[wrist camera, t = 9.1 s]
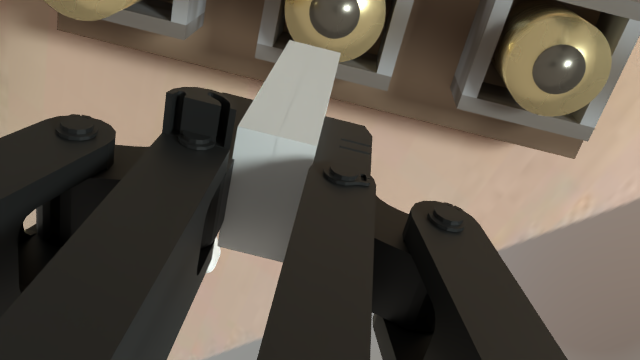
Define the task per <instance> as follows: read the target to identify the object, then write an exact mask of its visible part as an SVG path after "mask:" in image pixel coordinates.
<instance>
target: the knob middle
mask: <svg viewBox="0 0 640 360" xmlns="http://www.w3.org/2000/svg"><path fill="white" fill-rule="evenodd" d="M385 14H386V3H385V0H285V20H286V24H287V28H288V30H289V33H290V35H291V36H292V38H293V40H294V41H295V42H299V43H303V44H307V45H311V46H315V47H319V48H323V49H327V50H331V51H335V52H339V53H341V54H340V58H339V62H345V61H349V60H352V59H355V58H357V57H359V56H361V55H362V54H364V53H365V52H366V51H368V50H369V49H370V48H371V47H372V46H373V45H374V43H375V42H376V41H377V39H378V38H379V36H380V34H381V32H382V29H383V26H384V21H385Z"/></svg>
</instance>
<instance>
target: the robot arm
mask: <svg viewBox="0 0 640 360" xmlns="http://www.w3.org/2000/svg"><path fill="white" fill-rule="evenodd" d="M340 54H341V53H339V52H335V51H331V50H327V49H323V48H319V47H315V46H311V45H307V44H303V43H299V42H295V41H291V40H289V42H288V44H287V45H286V47H285V49H284V50H283V52H282V53H281V55H280V57H279V58H278V60H277V62H276V63H275V65H274V67H273V68H272V70H271V72H270V73H269V75H268V77H267V78H266V80H265V82H264V83H263V85H262V87H261V88H260V90H259V92H258V93H257V95H256V97H255V98H254V100H251V99H247V98H243V97H239V96H235V95H231V94H227V93H219V92H216V91H213V90H210V89H204V88H198V87H181V88H175V89H172V90H170V91H168V92H166V101H165V111H164V120H163V130H162V134H161V135H160V136H159V137H158V138H157V139H156V141H155V142H154V143H153V144H152V145H151V146H150V147H134V146H123V145H115V134H116V131H115V130H114V129H113V128H112V126H111V125H109V124H107V123H105V122H103V121H101V120H98V119H94V118H91V117H90V116H85V115H82V116H80V115H75V114H72V115H69V116H58V117H54V118H50V119H46V120H44V121H41V122H39V123H36V124H34V125H31V126H29V127H26V128H24V129H21V130H19V131H16V132H14V133H11V134H9V135H6V136H4V137H2V138H0V360H167V357H168V355H169V353H170V351H171V348H172V346H173V344H174V342H175V340H176V337H177V335H178V333H179V331H180V329H181V326H182V324H183V322H184V320H185V318H186V315H187V313H188V311H189V309H190V306H191V304H192V302H193V300H194V298H195V295H196V293H197V291H198V289H199V287H200V284H201V282H202V280H203V278H204V276H205V273H206V271H207V269H208V267H209V264H210V262H211V260H212V254H213V248H214V242H215V238H216V236H217V234H218V232H219V230H220V233H219V239H218V244H217V246H219V247H223V248H227V249H231V250H235V251H239V252H243V253H247V254H251V255H255V256H259V257H263V258H268V259H272V260H276V261H280V262H283V265H282V269H281V273H280V276H279V280H278V284H277V287H276V291H275V295H274V298H273V302H272V306H271V309H270V313H269V317H268V321H267V324H266V328H265V332H264V335H263V339H262V343H261V346H260V350H259V354H258V358H257V360H370V344H371V316H372V315H371V313H374V316H373V328H374V331H375V335H376V338H377V342H378V345H379V348H380V352H381V355H382V359H383V360H568V359H567V358H566V356H565V355H564V353H563V352H562V350H561V349H560V347H559V346H558V344H557V343H556V341H555V340H554V338H553V336H552V335H551V333H550V332H549V330H548V329H547V327H546V326H545V324H544V323H543V321H542V320H541V318H540V317H539V315H538V313H537V312H536V310H535V309H534V307H533V306H532V304H531V303H530V301H529V300H528V298H527V297H526V295H525V293H524V292H523V290H522V289H521V287H520V286H519V284H518V283H517V281H516V280H515V278H514V277H513V275H512V274H511V272H510V271H509V269H508V267H507V266H506V264H505V263H504V261H503V260H502V259H501V257H500V255H499V254H498V252H497V251H496V249H495V247H494V246H493V244H492V243H491V241H490V240H489V238H488V237H487V235H486V234H485V232H484V231H483V229H482V228H481V226H480V224H479V223H478V222H477V221H476V220H475V219H474V218H473V217H472V216H470V215H469V214H467V213H466V212H464V211H463V210H462V209H461V208H459V207H457V206H453V205H452V204H449V203H441V202H437V201H422V202H419V203H415V204H414V206H413V207H412V208H411V210H410V213H409V214H407V213H404V212H402V211H400V210H398V209H396V208H394V207H392V206H390V205H388V204H386V203H385V202H383V201H382V200H380V199H379V198H378V197H377V196H376V184H375V181H374V179H373V178H372V177H371V176H370V174H371V153H372V148H371V147H372V135H371V134H370V133H369V131H368V130H367V129H366V127H365V126H362V125H358V124H354V123H350V122H346V121H342V120H338V119H334V118H330V117H326V116H325V115H326V111H327V107H328V103H329V99H330V95H331V91H332V87H333V83H334V79H335V75H336V71H337V67H338V63H339V58H340ZM35 209H36V224H35V225H33V226H32V227H30V228H28V229H26V230H24V228H23V221H24V220H25V218H26V217H27V216H28V215H29V214H30V213H31V212H32V211H33V210H35Z"/></svg>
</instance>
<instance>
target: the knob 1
mask: <svg viewBox="0 0 640 360" xmlns="http://www.w3.org/2000/svg"><path fill="white" fill-rule="evenodd" d="M44 1H45V2H46V3H47V4H48V5H49V6H50V7H52V8H53V9H54V10H56V11H58V12H59V13H61V14H63V15H65V16H67V17H70V18H73V19H76V20H81V21H96V20H100V19H104V18H106V17H109V16H111V15H113V14H115V13H117V12H119V11H121V10H123V9H125V8H127V7H129V6H131V5H133V4H135V3H137V2H140V1H142V0H44Z"/></svg>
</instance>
